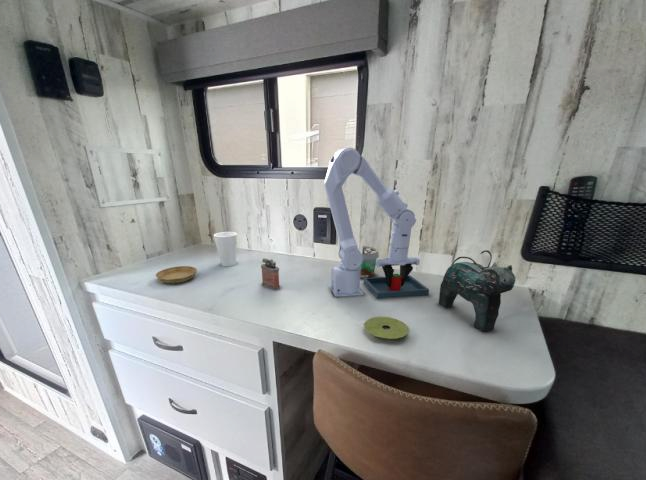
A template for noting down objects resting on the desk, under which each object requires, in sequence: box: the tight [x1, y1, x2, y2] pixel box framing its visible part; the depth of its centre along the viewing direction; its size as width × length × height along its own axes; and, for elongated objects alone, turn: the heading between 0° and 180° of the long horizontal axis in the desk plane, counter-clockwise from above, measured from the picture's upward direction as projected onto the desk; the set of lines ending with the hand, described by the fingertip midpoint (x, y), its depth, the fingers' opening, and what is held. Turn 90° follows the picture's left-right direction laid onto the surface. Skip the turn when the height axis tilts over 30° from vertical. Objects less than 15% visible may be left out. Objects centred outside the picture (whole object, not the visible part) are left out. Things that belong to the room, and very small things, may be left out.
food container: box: [360, 245, 380, 280], centre depth 117 cm, size 12×6×10 cm, turn 168°
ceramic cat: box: [438, 249, 516, 333], centre depth 83 cm, size 20×6×20 cm, turn 17°
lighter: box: [260, 257, 281, 291], centre depth 107 cm, size 8×3×10 cm, turn 47°
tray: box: [363, 274, 430, 300], centre depth 105 cm, size 18×14×2 cm
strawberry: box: [388, 273, 402, 291], centre depth 105 cm, size 4×4×5 cm
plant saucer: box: [155, 265, 198, 284], centre depth 117 cm, size 15×15×3 cm
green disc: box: [363, 316, 410, 340], centre depth 79 cm, size 11×11×2 cm
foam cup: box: [213, 231, 238, 267], centre depth 131 cm, size 10×9×13 cm
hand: (394, 285), depth 105 cm, fingers closed on strawberry, 4 cm apart
